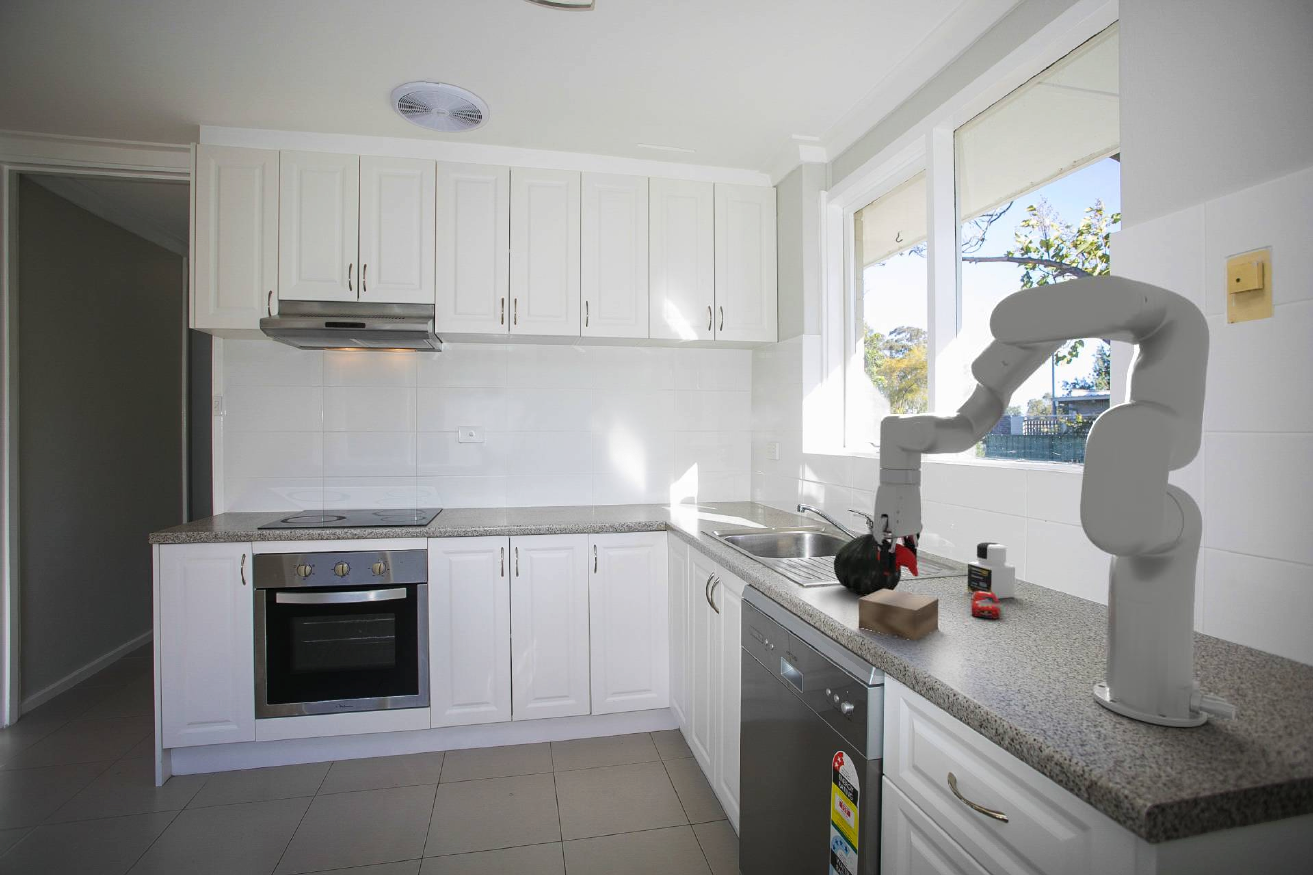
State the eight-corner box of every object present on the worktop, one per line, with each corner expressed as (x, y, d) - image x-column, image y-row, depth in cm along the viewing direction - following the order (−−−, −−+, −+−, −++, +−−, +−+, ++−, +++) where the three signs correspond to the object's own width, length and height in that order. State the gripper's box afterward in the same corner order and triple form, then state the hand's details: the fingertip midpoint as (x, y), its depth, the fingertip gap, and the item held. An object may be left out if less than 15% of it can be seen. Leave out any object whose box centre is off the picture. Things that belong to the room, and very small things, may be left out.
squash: (855, 557, 163) (840, 518, 155) (914, 569, 154) (902, 528, 145) (834, 602, 156) (818, 563, 148) (896, 617, 146) (881, 576, 138)
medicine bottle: (966, 591, 152) (967, 541, 151) (990, 589, 154) (991, 540, 154) (990, 599, 145) (991, 547, 145) (1015, 597, 147) (1016, 545, 147)
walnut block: (937, 629, 124) (938, 598, 124) (915, 643, 116) (916, 610, 116) (883, 617, 132) (883, 588, 131) (858, 629, 124) (859, 598, 124)
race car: (1000, 623, 129) (1000, 603, 129) (970, 619, 131) (970, 599, 131) (998, 606, 140) (999, 588, 140) (971, 603, 143) (971, 585, 143)
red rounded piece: (869, 557, 123) (896, 545, 120) (875, 542, 128) (901, 530, 125) (894, 590, 123) (922, 579, 120) (900, 574, 128) (926, 563, 125)
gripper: (905, 474, 132) (904, 560, 133) (857, 478, 121) (855, 571, 122) (941, 477, 126) (939, 567, 127) (893, 481, 115) (891, 579, 116)
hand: (898, 568), depth 124 cm, fingers closed on red rounded piece, 6 cm apart
